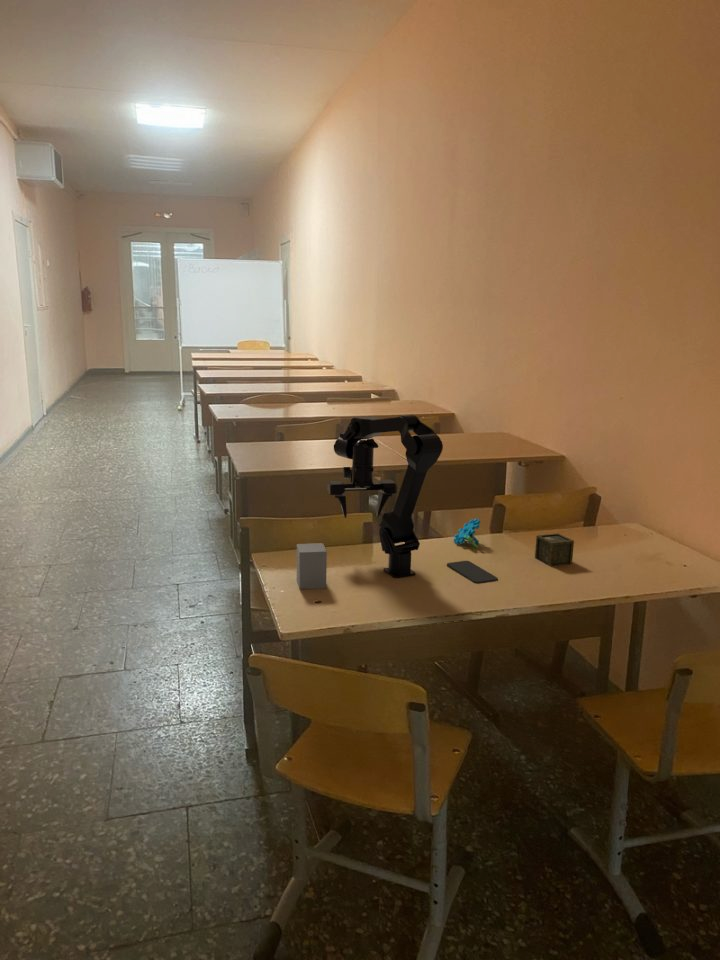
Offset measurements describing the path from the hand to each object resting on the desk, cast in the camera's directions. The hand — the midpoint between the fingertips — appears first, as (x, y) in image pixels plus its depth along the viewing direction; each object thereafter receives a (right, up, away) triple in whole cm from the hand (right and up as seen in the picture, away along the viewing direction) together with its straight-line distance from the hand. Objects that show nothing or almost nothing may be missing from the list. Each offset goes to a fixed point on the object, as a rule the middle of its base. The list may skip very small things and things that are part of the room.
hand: (361, 517), depth 197 cm
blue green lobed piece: (+31, -9, +15) cm, 36 cm away
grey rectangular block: (-13, -16, -20) cm, 29 cm away
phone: (+29, -15, -9) cm, 34 cm away
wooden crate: (+54, -13, +2) cm, 55 cm away
